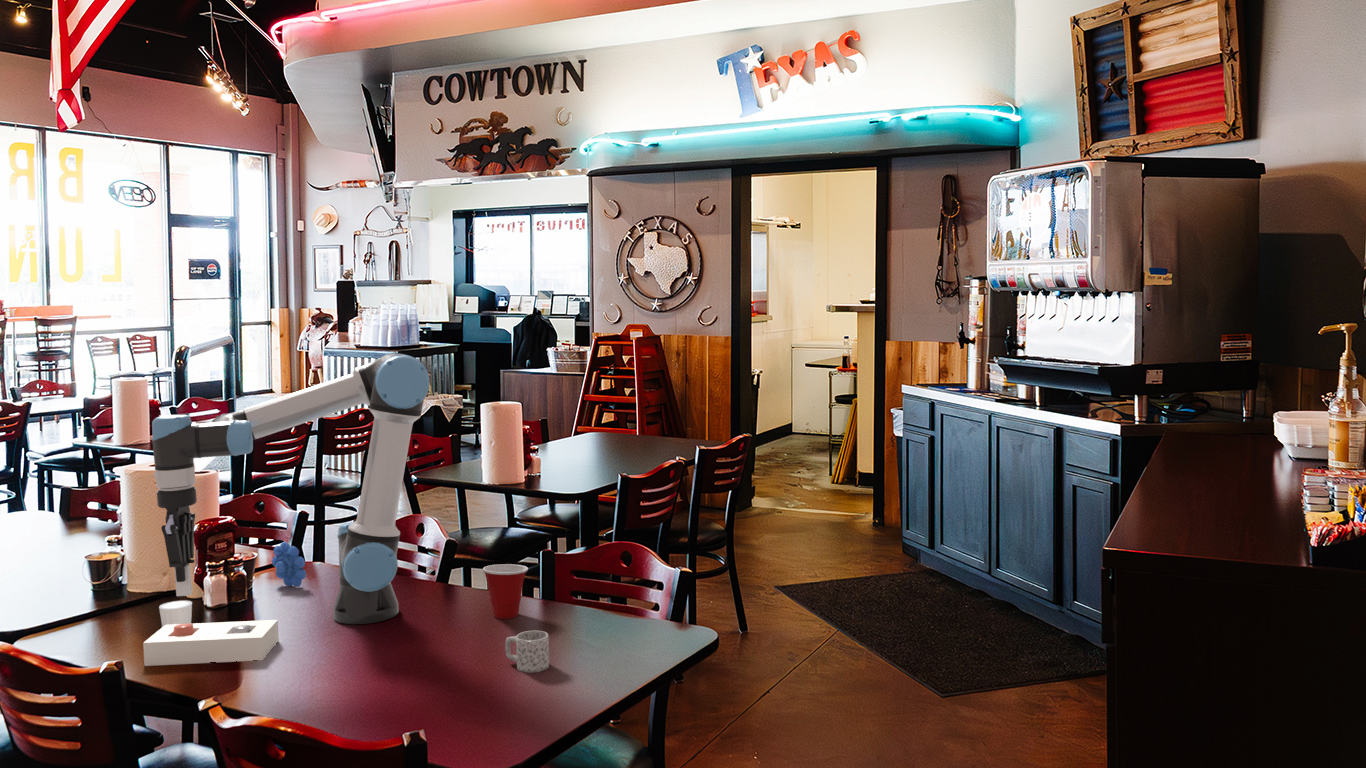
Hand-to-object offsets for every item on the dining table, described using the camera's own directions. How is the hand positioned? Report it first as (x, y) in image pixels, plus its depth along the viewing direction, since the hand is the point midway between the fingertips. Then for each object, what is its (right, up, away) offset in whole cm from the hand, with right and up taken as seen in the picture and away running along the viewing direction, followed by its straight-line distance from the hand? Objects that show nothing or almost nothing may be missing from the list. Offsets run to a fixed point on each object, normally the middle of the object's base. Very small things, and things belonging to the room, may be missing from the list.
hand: (184, 594), depth 219 cm
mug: (+75, -14, -7) cm, 77 cm away
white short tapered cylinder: (-9, -12, +15) cm, 21 cm away
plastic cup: (+65, -11, +27) cm, 71 cm away
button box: (+6, -13, +2) cm, 14 cm away
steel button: (+12, -13, +2) cm, 17 cm away
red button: (0, -12, +1) cm, 12 cm away
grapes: (+2, -9, +52) cm, 53 cm away
